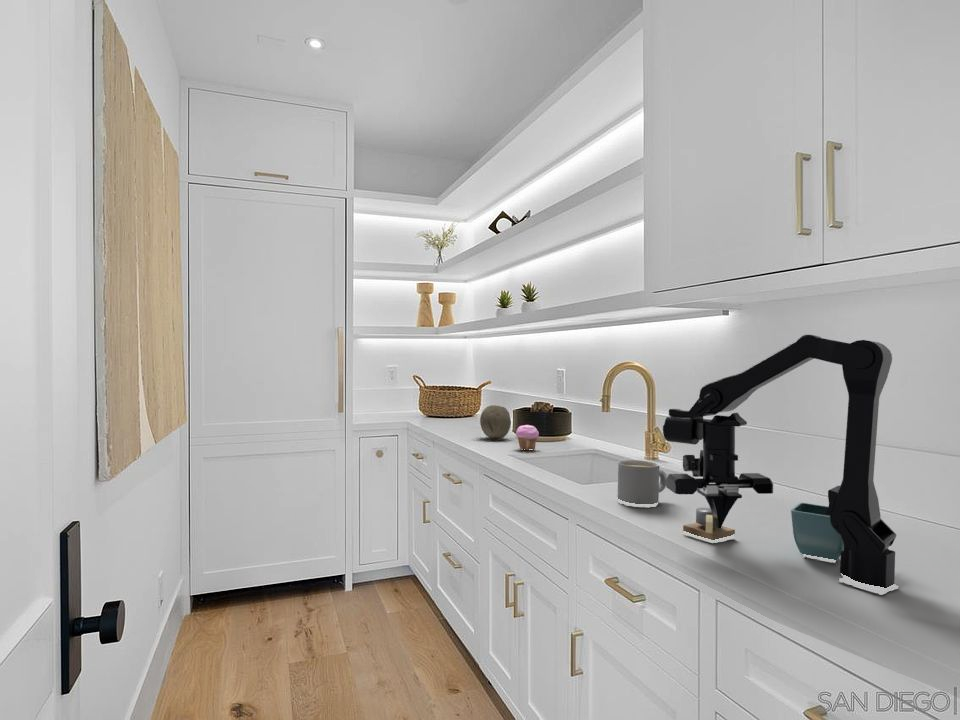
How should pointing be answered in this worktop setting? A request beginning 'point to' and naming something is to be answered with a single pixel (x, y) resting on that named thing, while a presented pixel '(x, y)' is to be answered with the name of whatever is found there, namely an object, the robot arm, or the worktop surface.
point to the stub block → (701, 531)
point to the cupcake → (527, 436)
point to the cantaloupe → (495, 422)
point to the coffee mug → (640, 481)
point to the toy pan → (705, 518)
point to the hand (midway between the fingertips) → (718, 527)
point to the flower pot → (815, 531)
